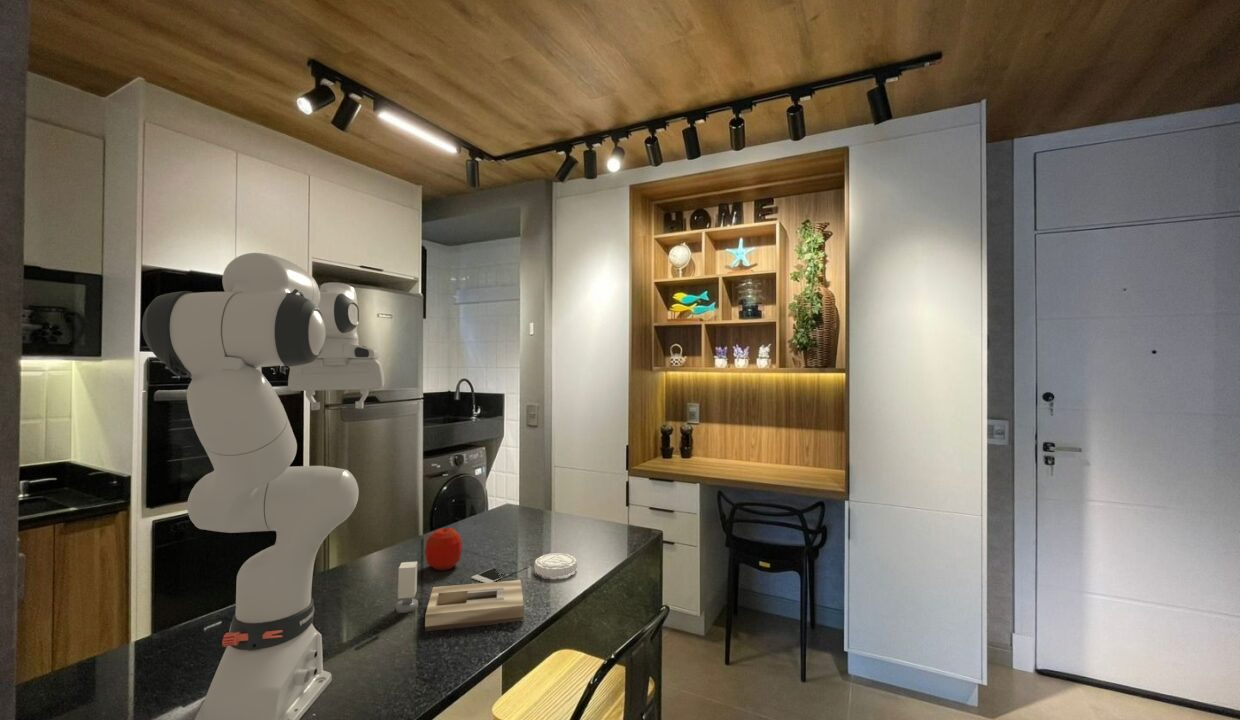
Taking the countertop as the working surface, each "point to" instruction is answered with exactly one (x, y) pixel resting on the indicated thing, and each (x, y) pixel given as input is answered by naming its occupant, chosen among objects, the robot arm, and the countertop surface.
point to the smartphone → (487, 576)
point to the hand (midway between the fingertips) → (337, 409)
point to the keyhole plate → (474, 605)
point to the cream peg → (407, 587)
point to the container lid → (555, 565)
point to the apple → (443, 548)
